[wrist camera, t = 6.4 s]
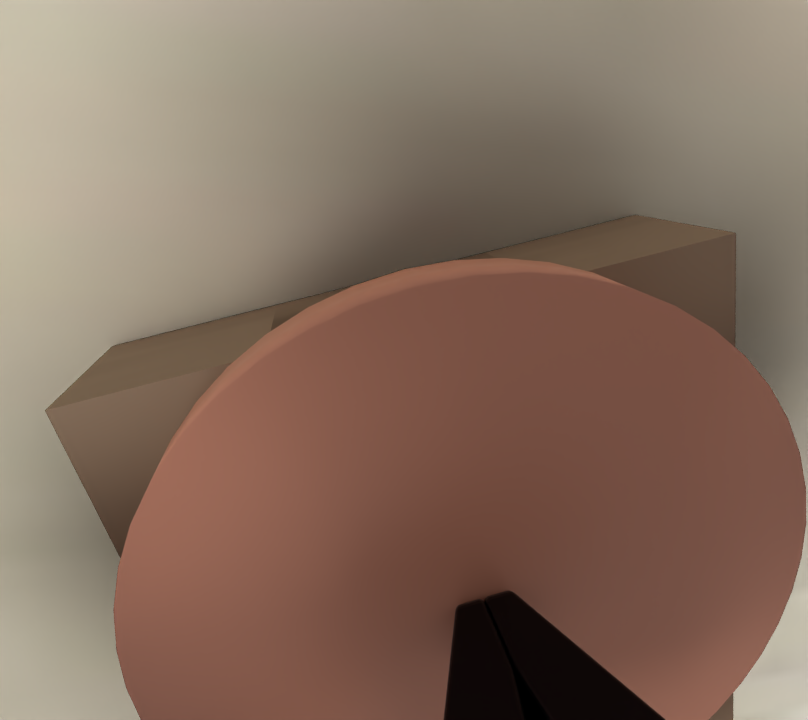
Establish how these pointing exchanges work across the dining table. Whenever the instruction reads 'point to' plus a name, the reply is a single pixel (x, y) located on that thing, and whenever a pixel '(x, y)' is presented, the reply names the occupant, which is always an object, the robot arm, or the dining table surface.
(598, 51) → the dining table surface
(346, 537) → the rust plunger
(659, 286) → the housing
